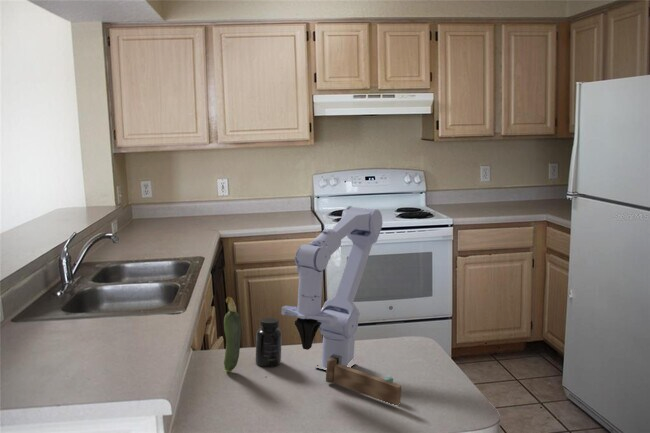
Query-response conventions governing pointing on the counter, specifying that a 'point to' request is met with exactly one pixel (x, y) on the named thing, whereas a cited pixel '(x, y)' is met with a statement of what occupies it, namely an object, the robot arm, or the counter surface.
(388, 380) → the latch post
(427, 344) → the counter surface
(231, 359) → the vegetable
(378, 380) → the wooden plank
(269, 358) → the supplement bottle
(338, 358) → the hinge post
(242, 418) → the counter surface
